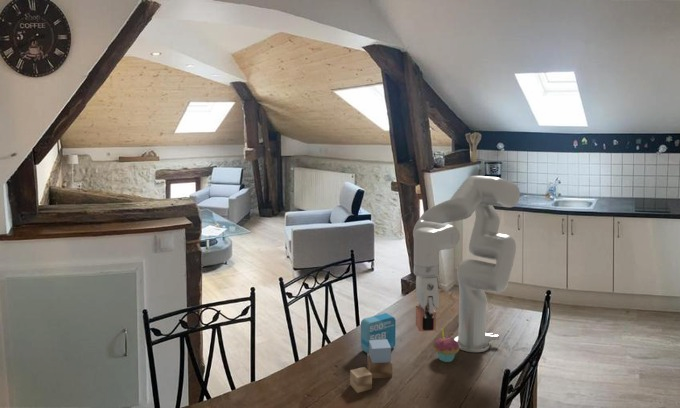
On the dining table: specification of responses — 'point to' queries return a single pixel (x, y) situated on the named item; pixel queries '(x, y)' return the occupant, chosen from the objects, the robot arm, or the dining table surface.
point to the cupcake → (446, 348)
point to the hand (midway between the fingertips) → (425, 325)
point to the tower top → (379, 351)
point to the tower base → (379, 369)
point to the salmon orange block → (420, 318)
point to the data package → (377, 330)
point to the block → (360, 379)
